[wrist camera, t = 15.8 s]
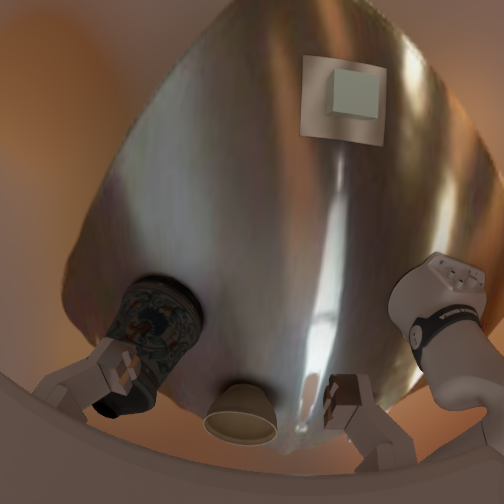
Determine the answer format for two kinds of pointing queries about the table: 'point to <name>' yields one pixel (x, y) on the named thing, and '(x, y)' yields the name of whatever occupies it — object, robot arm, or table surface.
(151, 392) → the beer stein
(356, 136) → the post stand
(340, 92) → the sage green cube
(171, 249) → the table surface
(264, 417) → the planter bowl
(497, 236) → the table surface
